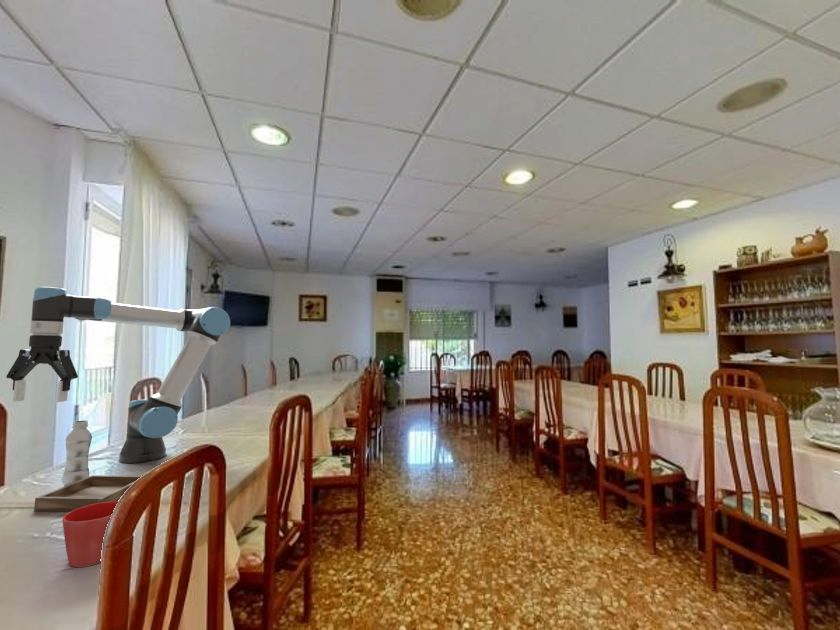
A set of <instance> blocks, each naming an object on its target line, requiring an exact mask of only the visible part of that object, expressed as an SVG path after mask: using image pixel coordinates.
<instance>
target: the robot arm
mask: <svg viewBox="0 0 840 630" xmlns="http://www.w3.org/2000/svg"><path fill="white" fill-rule="evenodd" d="M31 306H32V309H31V319H30V321H31V322H30V331H29V333H30V334H31V335H29V341H28V346H29V347H30V348H25V349H24V348H23V349H20V350H19V351H18V356H17V357H16V360H14V362H13V364H12V366H11V368H10V369H9V371H8V373H7V374H6V379H11V380H12V391H13V395H12V396H13V398H12V402H21V401H25V394H26V387H27V386H26V385H27V380H26V377H27V376H28V374H29V373H30V372H31V371H32V370H33V369H35V367H36V366H38V365H40V364H42V365H46V364H48V365H49V366H51V368H52V369H53V371H54V372H55V373H56V375H57V376H58V377H59V378H60V380H58V385H57V386H58V387H57V396H56V397H57V398H56V402H57V403H61V402H66V401H68V392H69V391H70V390H71V381H72V380H75V379H78V377H79V376H78V373H77V371H76V368H75V366H74V363H73V361H72V358H71V351H70V349H60V347H61V346H62V343H63V342H62V341H63V336H62V334H63V331H64V321H65V320H64V318H74V319H76V320H79V321H93V322H95V321H96V322H103V323H105V322H106V323H115V324H116V323H117V324H125V325H127V324H129V325H137V326H147V327H157V328H158V327H160V328H167V329H168V328H169V329H176V330H177V331H178V332H185V333H187V334H188V338H187V340H186V342H185V343H184V345H183V347H182V349H181V351H180V352H179V354H178V355H177V358H176V359H175V360H174V362H173V364H172V366H171V368H170V369H169V371H168V373H167V375H166V377H165V378H164V380H163V382H162V384H161V385H160V387H159V388H158V390H157V392H156V393H154V394H152V395H150V396H149V397H148V399H147V398H146V399H134V400H131V401H130V402H129V404H128V407H127V410H128V413H127V427H126V439H125V442H124V444H123V445H122V448H121V450H120V453H119V455H118V456H119V457H118V461H119V462H121V463H123V464H124V463H127V464H133V463H136V464H137V463H144V462H145V463H146V462H151V461H154V459H155V460H159V459H161V458H163V456H164V457H165V456H166V454H167V448H166V445H165V444H166V443H165V441H164V438H163V437H165V436H168V435H169V434H170V433H172V432H173V431H174V430H175V428H176V426H177V425H178V421H179V419H178V416H179V414H180V411H181V409H182V408H183V405H182V402H181V401H182V399H183V397H184V396H185V394H186V391H187V390H188V388H189V386H190V384H191V383H192V381H193V378H194V376H195V375H196V373H197V372H198V370H199V368H200V366H201V364H202V362H203V361H204V359H205V357H206V356H207V353H208V352H209V350H210V348H211V347H212V346H213V345H216V344H217V343H218V342H219V340H220V338H221V336H222V335H223V334H225V333H226V332H227V331H228V330H229V328H230V326H231V317H230V315H229V314H228V313H227V311H225V310H224V309H222V308H220V307H217V306H208V307H205V308H197V309H186V308H180V309H179V310H174V309H165V308H159V307H151V306H143V305H142V306H141V305H132V304H126V303H118V302H112V300H111V299H110V298H106V297H100V296H85V295H84V296H82V295H81V296H80V295H70V294H68V293H67V290H66V289H65V288H63V287H54V286H38V287H36V288H35V289H34V292H33V300H32V305H31ZM160 457H161V458H160ZM158 458H159V459H158ZM150 460H151V461H150Z"/></svg>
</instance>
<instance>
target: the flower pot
mask: <svg viewBox="0 0 840 630" xmlns="http://www.w3.org/2000/svg"><path fill="white" fill-rule="evenodd" d="M117 503H118V501H110V502H102V503H96V504H92V505H88V506H84V507H81V508H78V509H75V510H73V511H71V512H66V514H64V515H63V517H62V518H61V519H62V522H61V523H62V528H63V529H62V531H63V536H64V543H65V549H66V550H65V552H66V556H67V563H68V565H69V566H71V567H75V568H84V567H90V566H93V565H96V564H100V563H101V562H100V559H101V550H102V543H103V537H104V534H105V530H106V527H107V524H108V522H109V520H110V517H111V514H112V513H113V510H114V508H115V506H116V504H117Z"/></svg>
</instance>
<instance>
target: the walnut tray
mask: <svg viewBox="0 0 840 630" xmlns="http://www.w3.org/2000/svg"><path fill="white" fill-rule="evenodd" d="M141 476H142V475H103V474H102V475H99V474H98V475H97V474H95V475H94V474H92V475H89V477H87V478H84V479H82V480H79V481H77V482H74V483H72V484H69V485H67V486H64V485H63V486H62V487H60V488H59V487H58V488H57V489H55V490H52V491H50V492H47V493H44V494H42V495H40V496H36V497H34V506H33V507H34V508H33V512H42V513H43V512H45V513H46V512H48V513H49V512H50V513H51V512H52V513H53V512H54V513H55V512H56V513H69V512H71V511H73V510H75V509H78V508H81V507H84V506H88V505H92V504H96V503H102V502H110V501H118V500H119V499H120V497H121V496H122V495H123V494H124V492H125V491H126V490H127V489H128V488H129V487H130V486H131V485H132V484H133V483H134V482H135V481H136V480H137V479H138V478H140V477H141Z"/></svg>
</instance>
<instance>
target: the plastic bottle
mask: <svg viewBox="0 0 840 630" xmlns="http://www.w3.org/2000/svg"><path fill="white" fill-rule="evenodd" d="M88 423H89V421H88V420H77V421H73V422H72V427H71V428H72V430H71V431H70V432H69V433H68V435H67V436H66V438H65V451H66V455H65V456H66V458H65V466H64V470H63V474H62V478H61V483H62V485H63V487H64V486H67V485H69V484H72V483H74V482H77V481H79V480H82V479H84V478H87V477H89V476H90V469H89V452H90V448H91V443H92V439H93V436H92V433H91V432H90V430H89V429H88V427H89V424H88Z"/></svg>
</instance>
